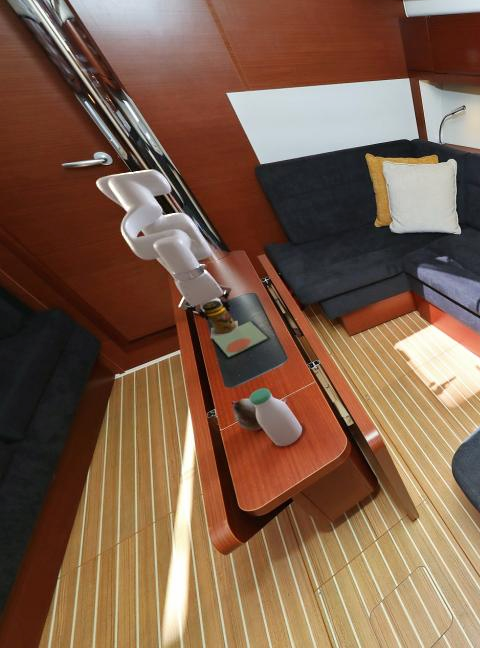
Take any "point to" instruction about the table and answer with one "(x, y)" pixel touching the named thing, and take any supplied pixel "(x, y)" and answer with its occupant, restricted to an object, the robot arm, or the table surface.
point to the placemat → (240, 339)
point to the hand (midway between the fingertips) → (217, 313)
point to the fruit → (246, 414)
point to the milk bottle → (275, 418)
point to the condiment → (219, 319)
